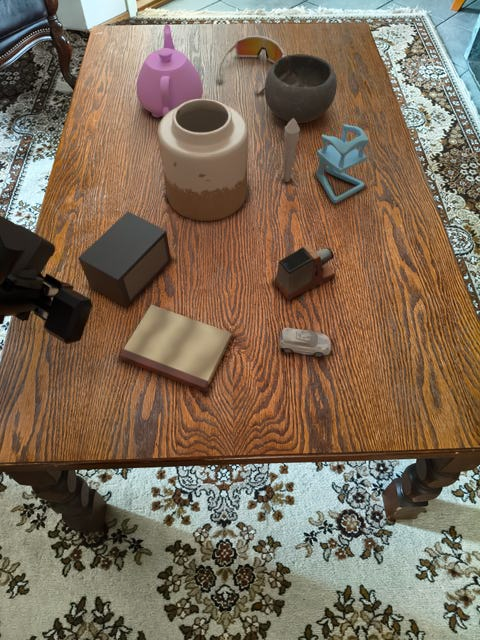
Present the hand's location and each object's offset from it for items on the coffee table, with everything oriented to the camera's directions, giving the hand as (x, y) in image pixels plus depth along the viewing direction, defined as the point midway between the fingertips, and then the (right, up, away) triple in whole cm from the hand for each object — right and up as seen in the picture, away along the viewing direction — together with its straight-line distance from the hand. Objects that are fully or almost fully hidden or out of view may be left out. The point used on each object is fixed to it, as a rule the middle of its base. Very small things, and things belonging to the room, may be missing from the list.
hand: (71, 288), depth 74 cm
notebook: (+15, -9, +4) cm, 18 cm away
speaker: (+6, +3, +12) cm, 14 cm away
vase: (+18, +20, +23) cm, 35 cm away
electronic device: (+36, +2, +11) cm, 37 cm away
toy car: (+35, -9, +5) cm, 36 cm away
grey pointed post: (+34, +22, +25) cm, 48 cm away
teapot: (+10, +43, +38) cm, 59 cm away
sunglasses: (+28, +54, +45) cm, 75 cm away
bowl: (+37, +40, +37) cm, 66 cm away
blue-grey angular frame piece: (+43, +22, +25) cm, 54 cm away
